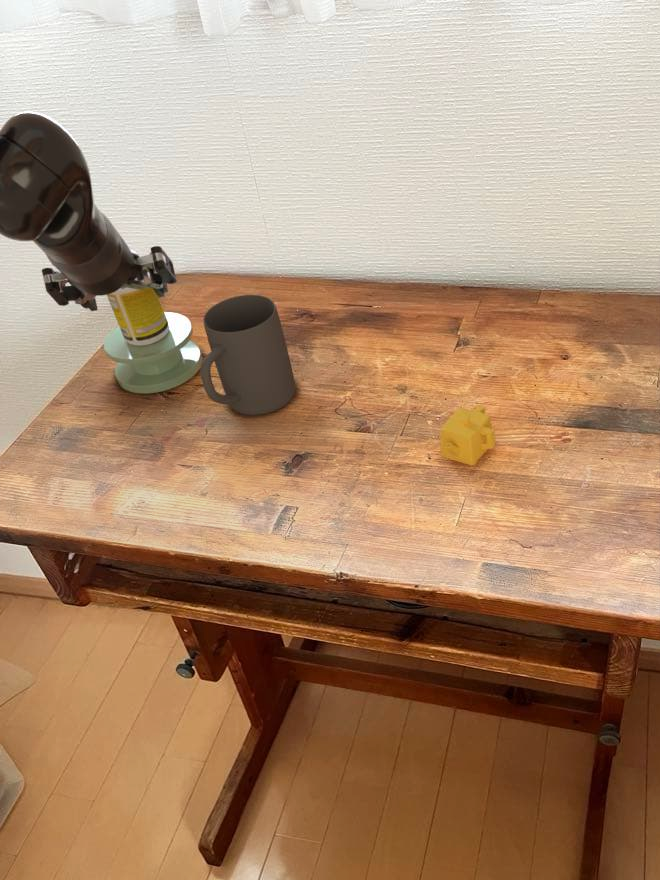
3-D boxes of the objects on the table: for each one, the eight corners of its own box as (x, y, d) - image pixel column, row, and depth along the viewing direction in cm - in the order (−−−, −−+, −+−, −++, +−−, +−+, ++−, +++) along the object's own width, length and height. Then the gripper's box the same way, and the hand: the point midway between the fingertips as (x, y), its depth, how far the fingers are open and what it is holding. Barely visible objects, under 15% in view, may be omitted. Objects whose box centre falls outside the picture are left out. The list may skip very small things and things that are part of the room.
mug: (253, 370, 113) (231, 289, 105) (310, 382, 109) (291, 299, 101) (192, 428, 105) (162, 346, 97) (251, 443, 101) (225, 359, 93)
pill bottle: (177, 323, 114) (151, 246, 106) (158, 348, 110) (129, 269, 102) (137, 322, 115) (108, 246, 107) (116, 346, 111) (85, 269, 103)
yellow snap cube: (476, 483, 91) (474, 446, 88) (432, 469, 94) (427, 432, 90) (510, 442, 96) (509, 405, 92) (466, 429, 99) (463, 393, 95)
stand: (164, 400, 110) (151, 366, 106) (99, 383, 115) (84, 350, 111) (219, 353, 117) (209, 319, 114) (155, 339, 122) (143, 306, 118)
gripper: (144, 201, 89) (176, 256, 105) (11, 227, 88) (64, 278, 104) (160, 269, 89) (189, 314, 105) (26, 295, 88) (77, 336, 104)
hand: (127, 296), depth 105 cm, fingers open, 8 cm apart
